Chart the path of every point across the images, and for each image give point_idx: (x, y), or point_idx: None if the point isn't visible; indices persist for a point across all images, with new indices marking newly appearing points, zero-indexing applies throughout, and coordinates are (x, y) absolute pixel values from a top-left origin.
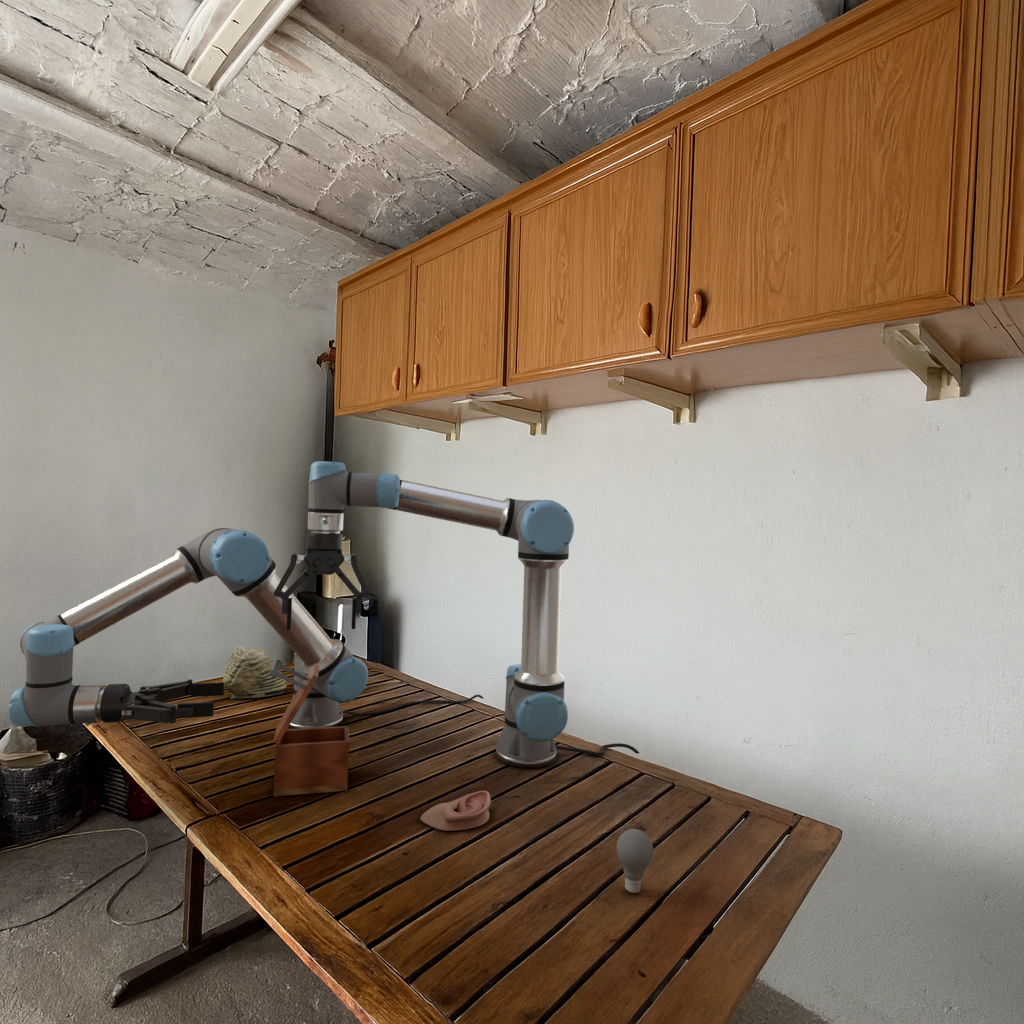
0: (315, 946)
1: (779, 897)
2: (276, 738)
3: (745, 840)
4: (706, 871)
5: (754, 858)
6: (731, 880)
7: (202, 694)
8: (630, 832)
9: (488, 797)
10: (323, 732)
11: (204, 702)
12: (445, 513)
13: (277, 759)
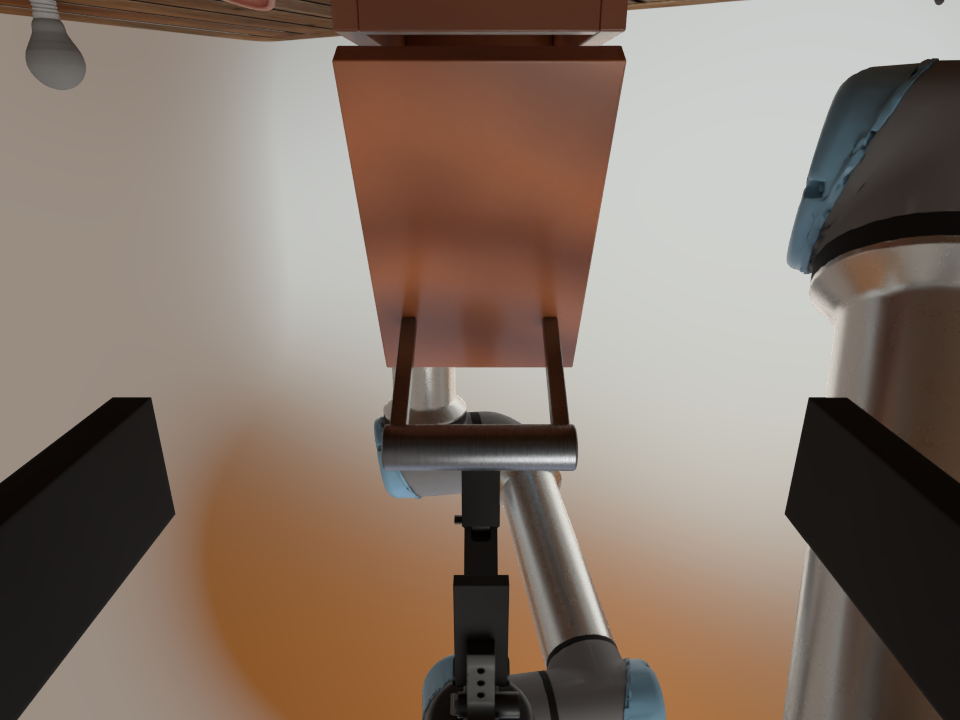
0: None
1: (99, 22)
2: (337, 85)
3: (225, 27)
4: (133, 14)
5: (182, 25)
6: (120, 17)
7: (953, 556)
8: (58, 88)
9: (243, 6)
10: (563, 35)
11: (125, 567)
12: (528, 557)
13: None
